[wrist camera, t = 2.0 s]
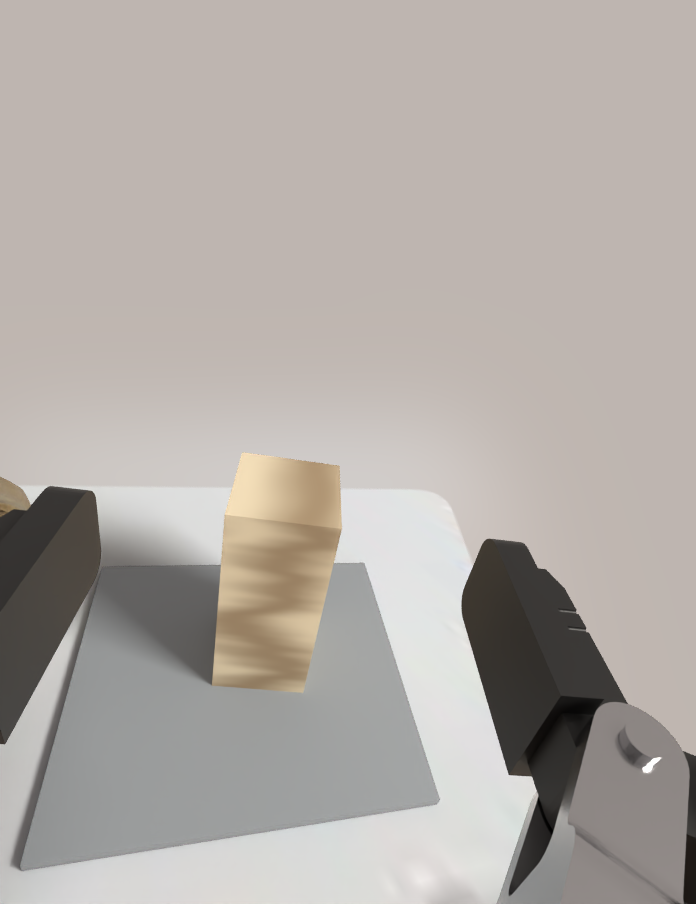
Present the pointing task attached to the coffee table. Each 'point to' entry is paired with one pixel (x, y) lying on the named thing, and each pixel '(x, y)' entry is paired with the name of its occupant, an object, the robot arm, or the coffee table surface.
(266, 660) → the birch block
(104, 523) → the coffee table surface
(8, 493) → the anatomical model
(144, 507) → the coffee table surface
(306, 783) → the slate mat
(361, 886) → the coffee table surface
